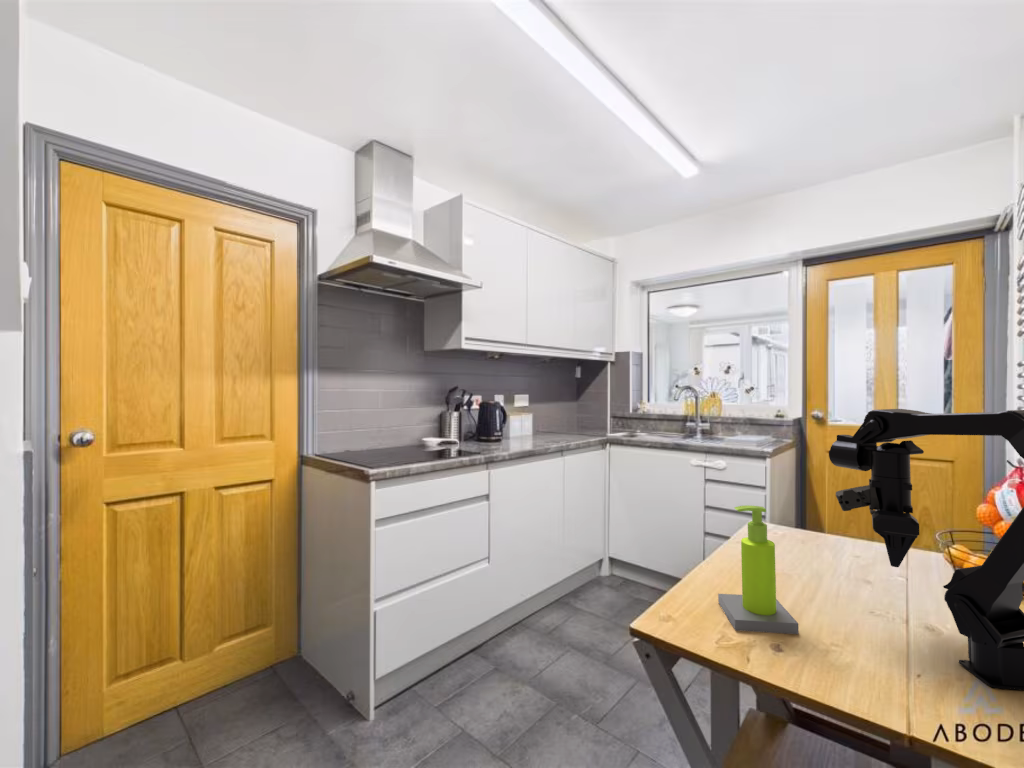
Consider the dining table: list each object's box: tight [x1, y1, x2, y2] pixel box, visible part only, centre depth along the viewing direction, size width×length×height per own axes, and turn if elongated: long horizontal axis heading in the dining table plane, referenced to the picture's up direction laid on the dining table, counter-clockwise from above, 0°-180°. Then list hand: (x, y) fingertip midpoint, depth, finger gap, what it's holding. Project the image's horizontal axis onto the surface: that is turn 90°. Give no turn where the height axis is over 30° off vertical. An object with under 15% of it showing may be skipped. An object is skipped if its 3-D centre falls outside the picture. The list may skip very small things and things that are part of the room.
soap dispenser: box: [734, 504, 777, 615], centre depth 91 cm, size 6×7×20 cm
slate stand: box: [717, 593, 799, 635], centre depth 91 cm, size 11×11×2 cm
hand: (892, 558), depth 86 cm, fingers open, 9 cm apart
